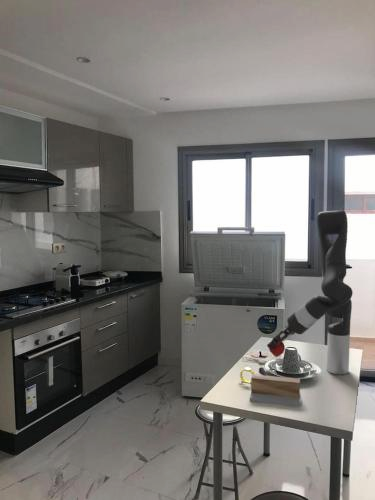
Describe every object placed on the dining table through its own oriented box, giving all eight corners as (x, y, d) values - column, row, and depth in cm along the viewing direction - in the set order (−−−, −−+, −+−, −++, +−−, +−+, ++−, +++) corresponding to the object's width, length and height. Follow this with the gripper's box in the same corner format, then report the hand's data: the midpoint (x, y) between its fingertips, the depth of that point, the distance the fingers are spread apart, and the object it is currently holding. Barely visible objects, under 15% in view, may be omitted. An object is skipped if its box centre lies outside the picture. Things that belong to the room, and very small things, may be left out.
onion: (286, 355, 163) (286, 335, 163) (281, 360, 158) (282, 339, 158) (271, 353, 166) (272, 333, 166) (266, 357, 161) (266, 337, 161)
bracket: (274, 370, 192) (274, 364, 191) (291, 383, 178) (292, 377, 177) (245, 374, 188) (245, 368, 187) (260, 388, 173) (260, 381, 173)
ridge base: (253, 387, 172) (253, 384, 172) (299, 392, 168) (299, 389, 167) (249, 400, 161) (249, 397, 161) (299, 406, 156) (299, 403, 156)
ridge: (252, 389, 168) (252, 374, 167) (299, 394, 163) (299, 378, 163) (251, 392, 165) (251, 377, 164) (299, 398, 160) (299, 382, 159)
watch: (255, 383, 178) (256, 369, 177) (252, 385, 175) (253, 371, 174) (241, 379, 181) (242, 365, 180) (239, 381, 178) (240, 367, 177)
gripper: (303, 306, 162) (273, 332, 170) (288, 314, 150) (257, 342, 158) (316, 322, 160) (286, 348, 168) (303, 332, 148) (270, 358, 156)
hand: (272, 345), depth 163 cm, fingers closed on onion, 5 cm apart
